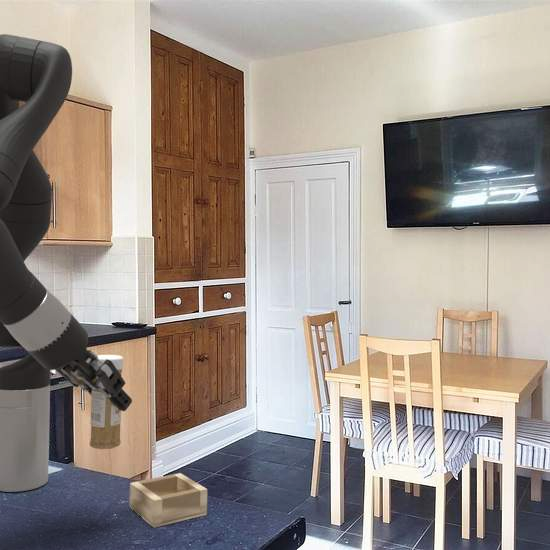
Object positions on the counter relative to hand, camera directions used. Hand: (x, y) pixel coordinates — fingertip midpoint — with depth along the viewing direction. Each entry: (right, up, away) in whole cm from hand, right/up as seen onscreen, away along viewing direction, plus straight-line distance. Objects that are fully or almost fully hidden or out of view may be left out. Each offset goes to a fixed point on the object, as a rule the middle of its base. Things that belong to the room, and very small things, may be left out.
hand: (116, 403), depth 94 cm
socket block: (+7, -18, +4) cm, 20 cm away
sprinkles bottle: (-1, -6, -1) cm, 7 cm away
